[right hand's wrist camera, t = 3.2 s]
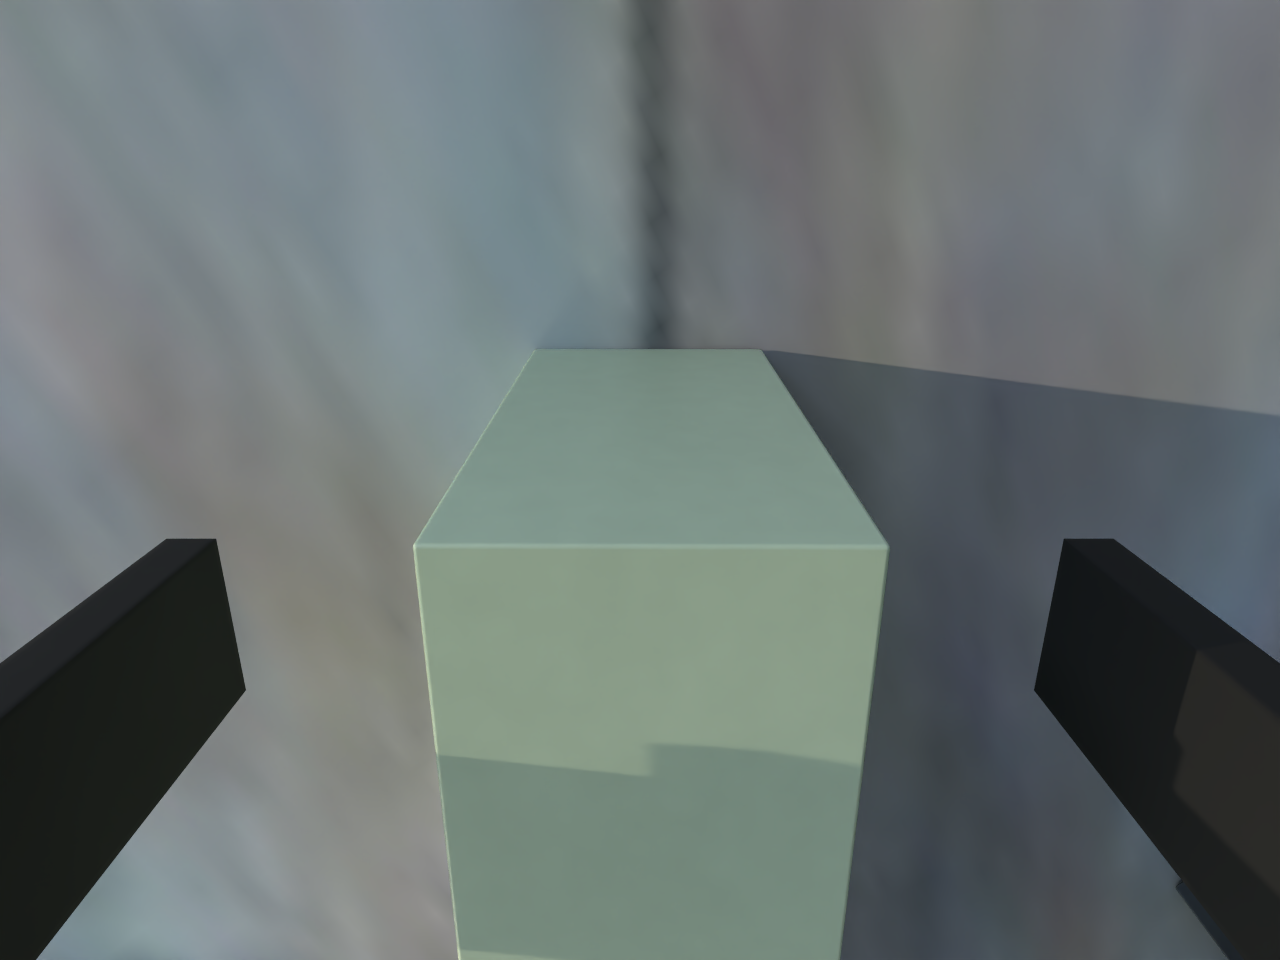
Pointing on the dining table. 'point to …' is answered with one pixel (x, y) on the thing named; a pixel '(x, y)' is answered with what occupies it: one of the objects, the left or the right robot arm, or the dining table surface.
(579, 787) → the bar
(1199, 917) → the slate cube
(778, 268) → the dining table surface
